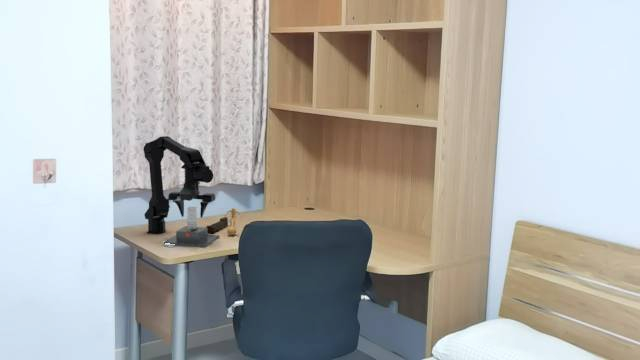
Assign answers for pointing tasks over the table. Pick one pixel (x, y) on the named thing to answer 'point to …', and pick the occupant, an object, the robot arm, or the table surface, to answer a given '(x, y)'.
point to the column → (192, 218)
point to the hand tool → (217, 225)
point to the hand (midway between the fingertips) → (192, 217)
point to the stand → (192, 237)
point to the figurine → (231, 230)
